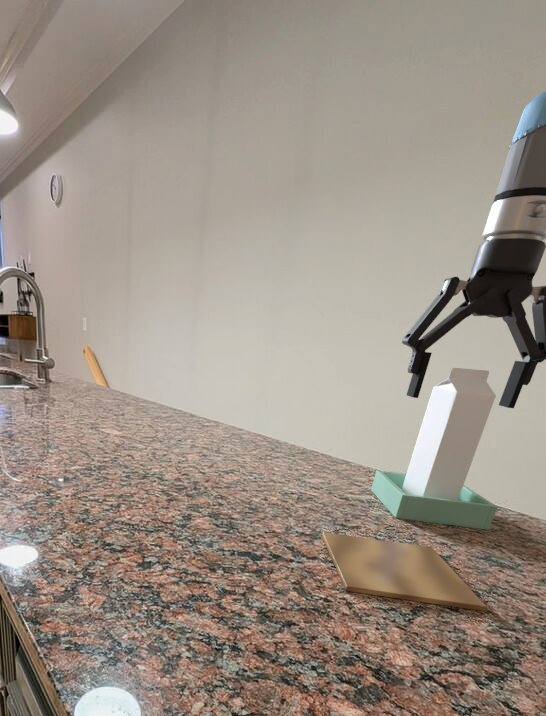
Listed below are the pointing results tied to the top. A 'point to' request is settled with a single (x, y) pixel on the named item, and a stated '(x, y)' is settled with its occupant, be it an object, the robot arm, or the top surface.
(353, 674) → the top surface
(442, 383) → the milk
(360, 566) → the cork mat
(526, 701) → the top surface
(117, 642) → the top surface
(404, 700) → the top surface
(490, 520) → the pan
